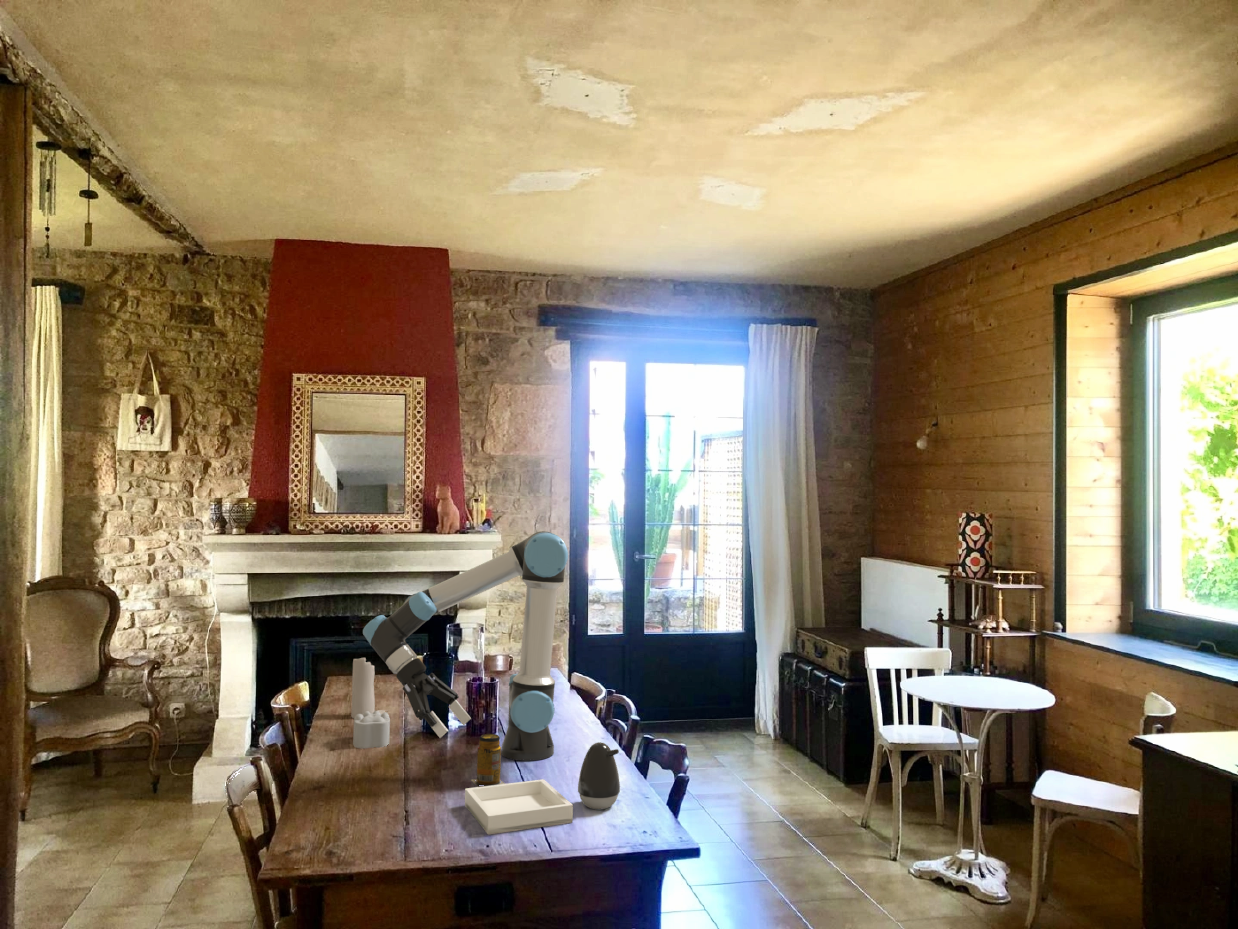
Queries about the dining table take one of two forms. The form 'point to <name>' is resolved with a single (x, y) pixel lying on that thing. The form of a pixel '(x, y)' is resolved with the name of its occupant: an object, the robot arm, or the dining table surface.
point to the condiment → (488, 761)
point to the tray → (518, 806)
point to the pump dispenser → (599, 777)
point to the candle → (363, 688)
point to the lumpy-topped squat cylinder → (371, 730)
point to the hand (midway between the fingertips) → (456, 728)
